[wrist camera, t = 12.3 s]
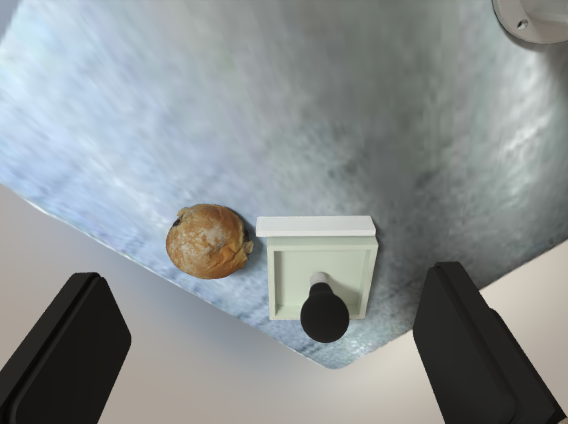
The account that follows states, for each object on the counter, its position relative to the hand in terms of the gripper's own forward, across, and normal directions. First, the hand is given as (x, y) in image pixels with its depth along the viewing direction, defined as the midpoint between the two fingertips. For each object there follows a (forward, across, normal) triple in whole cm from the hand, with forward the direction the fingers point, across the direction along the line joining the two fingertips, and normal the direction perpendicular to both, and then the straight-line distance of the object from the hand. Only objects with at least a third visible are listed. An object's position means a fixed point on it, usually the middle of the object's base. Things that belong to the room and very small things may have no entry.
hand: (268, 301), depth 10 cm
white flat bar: (+28, -4, +16) cm, 32 cm away
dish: (+28, -4, +25) cm, 38 cm away
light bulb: (+27, -4, +25) cm, 37 cm away
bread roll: (+28, +9, +18) cm, 35 cm away
